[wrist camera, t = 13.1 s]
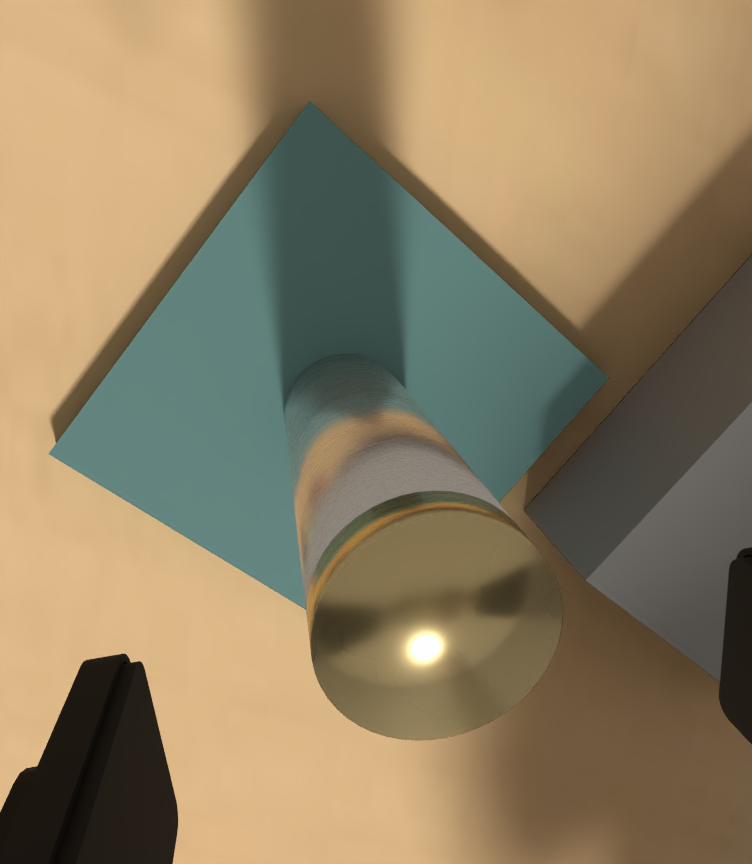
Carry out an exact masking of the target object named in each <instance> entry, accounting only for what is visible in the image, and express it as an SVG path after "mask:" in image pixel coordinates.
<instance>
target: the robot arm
mask: <svg viewBox="0 0 752 864" xmlns="http://www.w3.org/2000/svg"><path fill="white" fill-rule="evenodd" d="M719 700H720V704H721V707H722V710H723V712H724V713H725V715H726V717H727V718H728V719H729V721H730V722H731V723H732V724H733V725H734V726H735V727H736V728H737V729H738V730H739V731H740V732H741V734H742V735H743V736H744V737H745V738H746V739H747V740H748V741H749V742H750V743H751V744H752V547H750V548H744V549H742V550H741V551H740V552H739V553H738V555H737V558H736V559H735V560H733V561H732V562H731V564H730V567H729V576H728V588H727V601H726V613H725V626H724V638H723V651H722V663H721V676H720V688H719ZM177 829H178V810H177V803H176V798H175V794H174V790H173V786H172V782H171V777H170V773H169V769H168V765H167V761H166V757H165V752H164V748H163V744H162V740H161V736H160V732H159V727H158V723H157V719H156V715H155V711H154V706H153V702H152V698H151V694H150V690H149V686H148V681H147V677H146V673H145V669H144V666H143V664H142V662H140V661H139V662H133V663H131V662H130V659H129V658H128V656H127V655H126V654H119V655H113V656H107V657H102V658H96V659H90V660H86V661H84V662H83V663H82V665H81V667H80V669H79V671H78V674H77V676H76V678H75V681H74V683H73V685H72V688H71V690H70V692H69V694H68V697H67V699H66V701H65V704H64V706H63V708H62V711H61V713H60V715H59V718H58V720H57V722H56V725H55V727H54V729H53V732H52V734H51V736H50V738H49V741H48V743H47V745H46V748H45V750H44V752H43V755H42V757H41V759H40V762H39V764H38V766H37V767H31V768H26V769H25V770H24V771H22V772H21V773H20V774H19V776H18V777H17V779H16V780H15V782H14V784H13V786H12V788H11V790H10V793H9V795H8V797H7V799H6V801H5V803H4V806H3V808H2V810H1V812H0V864H172V863H173V857H174V850H175V844H176V837H177Z"/></svg>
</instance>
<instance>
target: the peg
mask: <svg viewBox="0 0 752 864" xmlns="http://www.w3.org/2000/svg"><path fill="white" fill-rule="evenodd" d="M284 421H285V430H286V439H287V448H288V456H289V465H290V474H291V482H292V491H293V500H294V508H295V517H296V526H297V534H298V543H299V552H300V561H301V569H302V578H303V587H304V595H305V604H306V613H307V621H308V630H309V639H310V647H311V656H312V662H313V666H314V671H315V674H316V677H317V679H318V682H319V684H320V686H321V688H322V690H323V691H324V693H325V695H326V696H327V698H328V699H329V700H330V701H331V703H332V704H333V705H334V706H335V707H336V709H337V710H339V711H340V712H341V713H342V714H343V715H344V716H345V717H347V718H348V719H349V720H351V721H353V722H354V723H356V724H357V725H359V726H361V727H363V728H365V729H367V730H369V731H371V732H374V733H377V734H380V735H383V736H386V737H392V738H397V739H404V740H434V739H441V738H447V737H451V736H455V735H459V734H463V733H466V732H468V731H471V730H474V729H476V728H479V727H481V726H483V725H485V724H487V723H489V722H491V721H493V720H494V719H496V718H498V717H499V716H501V715H503V714H504V713H506V712H507V711H508V710H510V709H511V708H512V707H513V706H515V705H516V704H517V703H518V702H519V701H520V700H522V699H523V698H524V697H525V696H526V695H527V694H528V693H529V692H530V691H531V689H532V688H533V687H534V686H535V685H536V683H537V682H538V681H539V680H540V678H541V677H542V675H543V674H544V672H545V671H546V669H547V667H548V666H549V664H550V662H551V660H552V658H553V656H554V653H555V650H556V648H557V645H558V642H559V638H560V633H561V629H562V619H563V607H562V597H561V593H560V588H559V585H558V582H557V580H556V577H555V575H554V572H553V571H552V569H551V567H550V566H549V564H548V562H547V561H546V559H545V558H544V557H543V556H542V554H541V553H540V552H539V551H538V550H537V548H536V547H535V546H534V545H533V544H532V542H531V541H530V540H529V539H528V537H527V536H526V535H525V534H524V533H523V531H522V530H521V529H520V528H519V527H518V525H517V524H516V523H515V522H514V520H513V519H512V518H511V517H510V516H509V514H508V513H507V512H506V511H505V510H504V508H503V507H502V506H501V505H500V504H499V502H498V501H497V500H496V499H495V497H494V496H493V495H492V494H491V493H490V491H489V490H488V489H487V488H486V487H485V485H484V484H483V483H482V482H481V480H480V479H479V478H478V477H477V476H476V474H475V473H474V472H473V471H472V470H471V468H470V467H469V466H468V465H467V464H466V462H465V461H464V460H463V459H462V457H461V456H460V455H459V454H458V453H457V451H456V450H455V449H454V448H453V447H452V445H451V444H450V443H449V442H448V440H447V439H446V438H445V437H444V436H443V434H442V433H441V432H440V431H439V430H438V428H437V427H436V426H435V425H434V423H433V422H432V421H431V420H430V419H429V417H428V416H427V415H426V414H425V413H424V411H423V410H422V409H421V408H420V407H419V405H418V404H417V403H416V402H415V400H414V399H413V398H412V397H411V396H410V394H409V393H408V392H407V391H406V390H405V388H404V387H403V386H402V385H401V383H400V382H399V381H398V380H397V379H396V377H395V376H394V375H393V374H392V373H391V371H389V370H388V369H387V368H386V367H385V366H384V365H382V364H381V363H379V362H378V361H376V360H374V359H372V358H369V357H366V356H363V355H358V354H337V355H332V356H329V357H326V358H323V359H321V360H319V361H316V362H315V363H313V364H312V365H310V366H309V367H308V368H306V369H305V370H304V371H303V372H302V373H301V374H300V375H299V376H298V377H297V379H296V380H295V382H294V383H293V384H292V386H291V388H290V390H289V393H288V395H287V398H286V402H285V408H284Z"/></svg>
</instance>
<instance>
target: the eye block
mask: <svg viewBox="0 0 752 864" xmlns="http://www.w3.org/2000/svg"><path fill="white" fill-rule="evenodd" d="M524 511H525V512H526V514H527V515H528V516H529V517H530V518H531V519H532V520H533V522H534V523H535V524H536V525H537V526H538V527H539V528H540V530H541V531H542V532H543V533H544V534H545V535H546V536H547V537H548V539H549V540H550V541H551V542H552V543H553V544H554V545H555V547H556V548H557V549H558V550H559V551H560V552H561V553H562V555H563V556H564V557H565V558H566V559H567V560H568V561H569V563H570V564H571V565H572V566H573V567H574V568H575V569H576V571H577V572H578V573H579V574H580V575H581V576H582V577H583V579H584V580H585V581H586V582H588V583H589V584H590V585H592V586H593V587H594V588H596V589H597V590H598V591H600V592H601V593H602V594H604V595H605V596H606V597H608V598H609V599H610V600H612V601H613V602H614V603H616V604H617V605H618V606H620V607H621V608H622V609H624V610H625V611H626V612H628V613H629V614H630V615H632V616H633V617H634V618H636V619H637V620H638V621H639V622H641V623H642V624H643V625H645V626H646V627H647V628H649V629H650V630H651V631H653V632H654V633H655V634H657V635H658V636H659V637H661V638H662V639H663V640H665V641H666V642H667V643H669V644H670V645H671V646H673V647H674V648H675V649H677V650H678V651H679V652H681V653H682V654H683V655H685V656H686V657H687V658H689V659H690V660H691V661H693V662H694V663H695V664H696V665H698V666H699V667H700V668H702V669H703V670H704V671H706V672H707V673H708V674H710V675H711V676H712V677H714V678H715V679H716V680H718V681H719V682H720V676H721V663H722V651H723V638H724V626H725V613H726V601H727V588H728V576H729V567H730V564H731V562H732V561H733V560H735V559H736V558H737V555H738V553H739V552H740V551H741V550H742V549H744V548H750V547H752V255H751V256H750V258H749V259H748V260H747V261H746V262H745V263H744V264H743V265H742V266H741V268H740V269H739V270H738V271H737V272H736V273H735V274H734V275H733V277H732V278H731V279H730V280H729V281H728V282H727V283H726V284H725V286H724V287H723V288H722V289H721V290H720V291H719V292H718V293H717V294H716V296H715V297H714V298H713V299H712V300H711V301H710V302H709V303H708V305H707V306H706V307H705V308H704V309H703V310H702V311H701V312H700V314H699V315H698V316H697V317H696V318H695V319H694V320H693V321H692V322H691V324H690V325H689V326H688V327H687V328H686V329H685V330H684V331H683V333H682V334H681V335H680V336H679V337H678V338H677V339H676V340H675V342H674V343H673V344H672V345H671V346H670V347H669V348H668V349H667V350H666V352H665V353H664V354H663V355H662V356H661V357H660V358H659V359H658V361H657V362H656V363H655V364H654V365H653V366H652V367H651V368H650V369H649V371H648V372H647V373H646V374H645V375H644V376H643V377H642V378H641V380H640V381H639V382H638V383H637V384H636V385H635V386H634V387H633V389H632V390H631V391H630V392H629V393H628V394H627V395H626V396H625V397H624V399H623V400H622V401H621V402H620V403H619V404H618V405H617V406H616V408H615V409H614V410H613V411H612V412H611V413H610V414H609V415H608V417H607V418H606V419H605V420H604V421H603V422H602V423H601V424H600V425H599V427H598V428H597V429H596V430H595V431H594V432H593V433H592V434H591V436H590V437H589V438H588V439H587V440H586V441H585V442H584V443H583V444H582V446H581V447H580V448H579V449H578V450H577V451H576V452H575V453H574V455H573V456H572V457H571V458H570V459H569V460H568V461H567V462H566V464H565V465H564V466H563V467H562V468H561V469H560V470H559V471H558V472H557V474H556V475H555V476H554V477H553V478H552V479H551V480H550V481H549V483H548V484H547V485H546V486H545V487H544V488H543V489H542V490H541V492H540V493H539V494H538V495H537V496H536V497H535V498H534V499H533V500H532V502H531V503H530V504H529V505H528V506H527V507H526V508H525V509H524Z"/></svg>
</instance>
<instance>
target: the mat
mask: <svg viewBox="0 0 752 864" xmlns="http://www.w3.org/2000/svg"><path fill="white" fill-rule="evenodd" d="M337 354H358V355H363V356H366V357H369V358H372V359H374V360H376V361H378V362H379V363H381V364H382V365H384V366H385V367H386V368H387V369H388V370H389V371H391V373H392V374H393V375H394V376H395V377H396V379H397V380H398V381H399V382H400V383H401V385H402V386H403V387H404V388H405V390H406V391H407V392H408V393H409V394H410V396H411V397H412V398H413V399H414V400H415V402H416V403H417V404H418V405H419V407H420V408H421V409H422V410H423V411H424V413H425V414H426V415H427V416H428V417H429V419H430V420H431V421H432V422H433V423H434V425H435V426H436V427H437V428H438V430H439V431H440V432H441V433H442V434H443V436H444V437H445V438H446V439H447V440H448V442H449V443H450V444H451V445H452V447H453V448H454V449H455V450H456V451H457V453H458V454H459V455H460V456H461V457H462V459H463V460H464V461H465V462H466V464H467V465H468V466H469V467H470V468H471V470H472V471H473V472H474V473H475V474H476V476H477V477H478V478H479V479H480V480H481V482H482V483H483V484H484V485H485V487H486V488H487V489H488V490H489V491H490V493H491V494H492V495H493V496H494V497H495V499H496V500H497V501H498V502H500V501H501V500H502V498H503V497H504V496H505V495H506V494H507V493H508V492H509V490H510V489H511V488H512V487H513V486H514V485H515V484H516V483H517V481H518V480H519V479H520V478H521V477H522V476H523V475H524V474H525V472H526V471H527V470H528V469H529V468H530V467H531V466H532V464H533V463H534V462H535V461H536V460H537V459H538V458H539V457H540V455H541V454H542V453H543V452H544V451H545V450H546V449H547V448H548V446H549V445H550V444H551V443H552V442H553V441H554V440H555V438H556V437H557V436H558V435H559V434H560V433H561V432H562V431H563V429H564V428H565V427H566V426H567V425H568V424H569V423H570V421H571V420H572V419H573V418H574V417H575V416H576V415H577V414H578V412H579V411H580V410H581V409H582V408H583V407H584V406H585V405H586V403H587V402H588V401H589V400H590V399H591V398H592V397H593V395H594V394H595V393H596V392H597V391H598V390H599V389H600V388H601V386H602V385H603V384H604V383H605V382H606V381H607V380H608V378H609V377H608V376H606V375H605V374H604V373H603V372H602V371H601V370H600V369H599V368H598V367H597V366H596V365H595V364H594V363H592V362H591V361H590V360H589V359H588V358H587V357H586V356H585V355H584V354H583V353H582V352H581V351H579V350H578V349H577V348H576V347H575V346H574V345H573V344H572V343H571V342H570V341H569V340H568V339H566V338H565V337H564V336H563V335H562V334H561V333H560V332H559V331H558V330H557V329H556V328H555V327H553V326H552V325H551V324H550V323H549V322H548V321H547V320H546V319H545V318H544V317H543V316H542V315H540V314H539V313H538V312H537V311H536V310H535V309H534V308H533V307H532V306H531V305H530V304H529V303H527V302H526V301H525V300H524V299H523V298H522V297H521V296H520V295H519V294H518V293H517V292H516V291H514V290H513V289H512V288H511V287H510V286H509V285H508V284H507V283H506V282H505V281H504V280H503V279H501V278H500V277H499V276H498V275H497V274H496V273H495V272H494V271H493V270H492V269H491V268H490V267H488V266H487V265H486V264H485V263H484V262H483V261H482V260H481V259H480V258H479V257H478V256H477V255H475V254H474V253H473V252H472V251H471V250H470V249H469V248H468V247H467V246H466V245H465V244H464V243H463V242H461V241H460V240H459V239H458V238H457V237H456V236H455V235H454V234H453V233H452V232H451V231H450V230H448V229H447V228H446V227H445V226H444V225H443V224H442V223H441V222H440V221H439V220H438V219H437V218H435V217H434V216H433V215H432V214H431V213H430V212H429V211H428V210H427V209H426V208H425V207H424V206H422V205H421V204H420V203H419V202H418V201H417V200H416V199H415V198H414V197H413V196H412V195H411V194H409V193H408V192H407V191H406V190H405V189H404V188H403V187H402V186H401V185H400V184H399V183H398V182H396V181H395V180H394V179H393V178H392V177H391V176H390V175H389V174H388V173H387V172H386V171H385V170H383V169H382V168H381V167H380V166H379V165H378V164H377V163H376V162H375V161H374V160H373V159H372V158H370V157H369V156H368V155H367V154H366V153H365V152H364V151H363V150H362V149H361V148H360V147H359V146H357V145H356V144H355V143H354V142H353V141H352V140H351V139H350V138H349V137H348V136H347V135H346V134H344V133H343V132H342V131H341V130H340V129H339V128H338V127H337V126H336V125H335V124H334V123H333V122H332V121H330V120H329V119H328V118H327V117H326V116H325V115H324V114H323V113H322V112H321V111H320V110H319V109H317V108H316V107H315V106H314V105H313V104H312V103H311V102H310V101H309V103H308V104H307V105H306V107H305V108H304V109H303V111H302V112H301V113H300V115H299V116H298V117H297V119H296V120H295V121H294V123H293V124H292V126H291V127H290V128H289V130H288V131H287V132H286V134H285V135H284V136H283V138H282V139H281V140H280V142H279V143H278V144H277V146H276V147H275V148H274V150H273V151H272V153H271V154H270V155H269V157H268V158H267V159H266V161H265V162H264V163H263V165H262V166H261V167H260V169H259V170H258V171H257V173H256V174H255V176H254V177H253V178H252V180H251V181H250V182H249V184H248V185H247V186H246V188H245V189H244V190H243V192H242V193H241V194H240V196H239V197H238V198H237V200H236V201H235V203H234V204H233V205H232V207H231V208H230V209H229V211H228V212H227V213H226V215H225V216H224V217H223V219H222V220H221V221H220V223H219V224H218V226H217V227H216V228H215V230H214V231H213V232H212V234H211V235H210V236H209V238H208V239H207V240H206V242H205V243H204V244H203V246H202V247H201V248H200V250H199V251H198V253H197V254H196V255H195V257H194V258H193V259H192V261H191V262H190V263H189V265H188V266H187V267H186V269H185V270H184V271H183V273H182V274H181V276H180V277H179V278H178V280H177V281H176V282H175V284H174V285H173V286H172V288H171V289H170V290H169V292H168V293H167V294H166V296H165V297H164V299H163V300H162V301H161V303H160V304H159V305H158V307H157V308H156V309H155V311H154V312H153V313H152V315H151V316H150V317H149V319H148V320H147V321H146V323H145V324H144V326H143V327H142V328H141V330H140V331H139V332H138V334H137V335H136V336H135V338H134V339H133V340H132V342H131V343H130V344H129V346H128V347H127V349H126V350H125V351H124V353H123V354H122V355H121V357H120V358H119V359H118V361H117V362H116V363H115V365H114V366H113V367H112V369H111V370H110V371H109V373H108V374H107V376H106V377H105V378H104V380H103V381H102V382H101V384H100V385H99V386H98V388H97V389H96V390H95V392H94V393H93V394H92V396H91V397H90V399H89V400H88V401H87V403H86V404H85V405H84V407H83V408H82V409H81V411H80V412H79V413H78V415H77V416H76V417H75V419H74V420H73V422H72V423H71V424H70V426H69V427H68V428H67V430H66V431H65V432H64V434H63V435H62V436H61V438H60V439H59V440H58V442H57V443H56V444H55V446H54V447H53V449H52V450H51V451H50V453H49V454H50V455H51V456H53V457H55V458H56V459H58V460H60V461H61V462H63V463H64V464H66V465H68V466H69V467H71V468H73V469H74V470H76V471H78V472H79V473H81V474H83V475H84V476H86V477H88V478H89V479H91V480H93V481H94V482H96V483H98V484H99V485H101V486H102V487H104V488H106V489H107V490H109V491H111V492H112V493H114V494H116V495H117V496H119V497H121V498H122V499H124V500H126V501H127V502H129V503H131V504H132V505H134V506H136V507H137V508H139V509H140V510H142V511H144V512H145V513H147V514H149V515H150V516H152V517H154V518H155V519H157V520H159V521H160V522H162V523H164V524H165V525H167V526H169V527H170V528H172V529H174V530H175V531H177V532H178V533H180V534H182V535H183V536H185V537H187V538H188V539H190V540H192V541H193V542H195V543H197V544H198V545H200V546H202V547H203V548H205V549H207V550H208V551H210V552H212V553H213V554H215V555H217V556H218V557H220V558H221V559H223V560H225V561H226V562H228V563H230V564H231V565H233V566H235V567H236V568H238V569H240V570H241V571H243V572H245V573H246V574H248V575H250V576H251V577H253V578H255V579H256V580H258V581H259V582H261V583H263V584H264V585H266V586H268V587H269V588H271V589H273V590H274V591H276V592H278V593H279V594H281V595H283V596H284V597H286V598H288V599H289V600H291V601H293V602H294V603H296V604H297V605H299V606H301V607H302V608H304V609H306V604H305V595H304V587H303V578H302V569H301V561H300V552H299V543H298V534H297V526H296V517H295V508H294V500H293V491H292V482H291V474H290V465H289V456H288V448H287V439H286V430H285V421H284V408H285V402H286V398H287V395H288V393H289V390H290V388H291V386H292V384H293V383H294V382H295V380H296V379H297V377H298V376H299V375H300V374H301V373H302V372H303V371H304V370H305V369H306V368H308V367H309V366H310V365H312V364H313V363H315V362H316V361H319V360H321V359H323V358H326V357H329V356H332V355H337Z"/></svg>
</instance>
